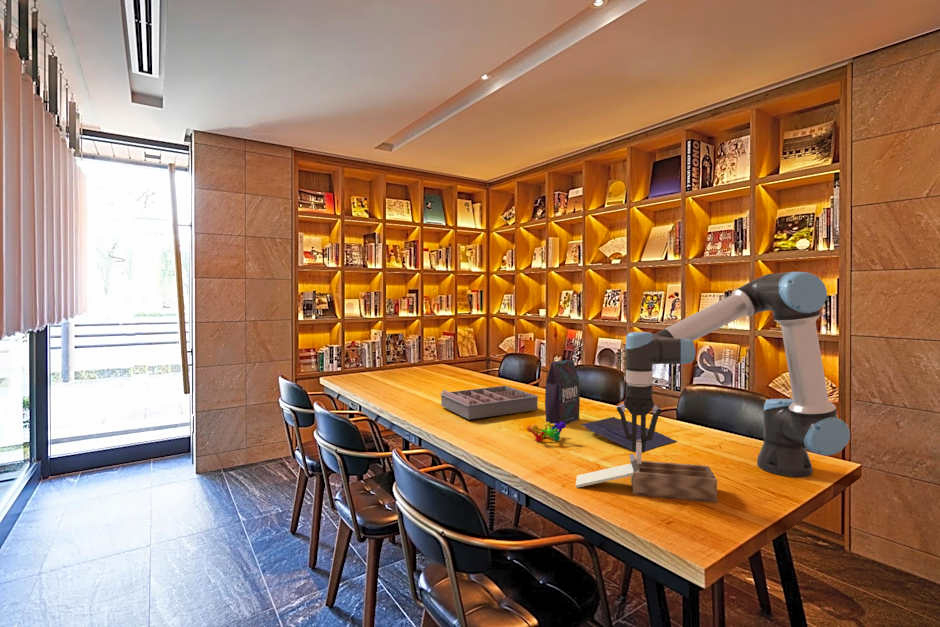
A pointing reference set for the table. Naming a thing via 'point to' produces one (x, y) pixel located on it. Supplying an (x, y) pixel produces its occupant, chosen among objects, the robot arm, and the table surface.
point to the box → (675, 481)
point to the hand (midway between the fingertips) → (638, 462)
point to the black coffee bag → (562, 393)
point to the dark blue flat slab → (615, 432)
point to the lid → (608, 474)
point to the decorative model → (547, 431)
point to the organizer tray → (488, 401)
